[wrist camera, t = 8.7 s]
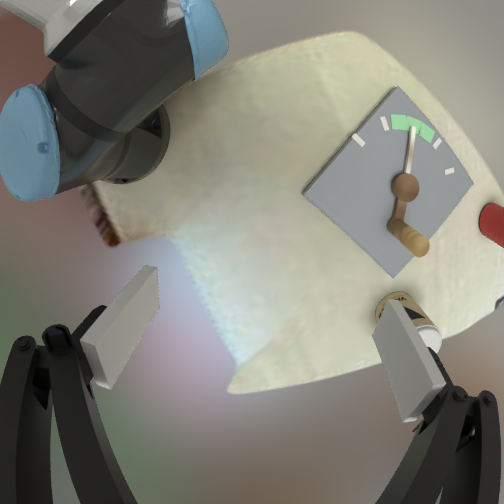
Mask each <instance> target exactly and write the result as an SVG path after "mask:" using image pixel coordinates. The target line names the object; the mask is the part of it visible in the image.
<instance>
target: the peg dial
mask: <svg viewBox="0 0 504 504" xmlns="http://www.w3.org/2000/svg"><path fill="white" fill-rule="evenodd" d="M415 134H416V127H415V126H410V133H409V142H408V150H407V157H406V164H405V171H404V173H399V174H397V175H396V176H395V177H394V179H393V181H392V192H393V194H394V195H395V197H396V202H395V207H394V212H393V217H392V219H391V220H390V221H389V222H388V225H387V228H388V231H389V232H390V233H391V234H392V235H393V236H394V237H395V238H396V239H398V240H399V241H400V242H401V243H402V244H403V245H404V246H405V247H406V248H407V249H408V250H409V251H410V252H411V253H412V254H414V255H415V256H416V257H422V256H424V255H425V254H426V253H427V252H428V250H429V246H430V245H429V241H428V239H427V238H425V237H424V236H423V235H421V234H420V233H419V232H417V231H416V230H415V229H413V228H412V227H411V226H409V225H408V224H407V223H405V222H404V216H405V212H406V207H407V203H408V202H411V201H413V200H414V199H415V198H416V197H417V196H418V193H419V182H418V180H417V179H416V177H414V176H413V175H411V174H410V171H411V165H412V158H413V151H414V143H415Z"/></svg>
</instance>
